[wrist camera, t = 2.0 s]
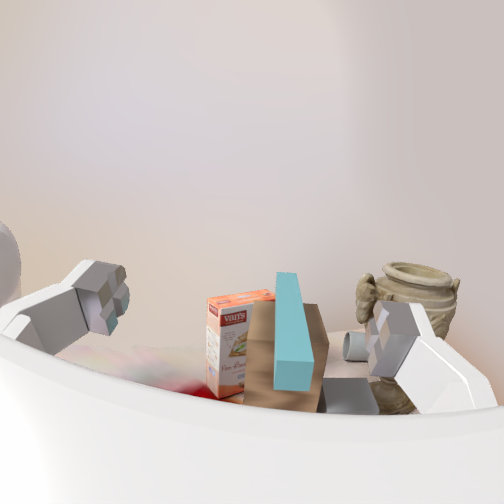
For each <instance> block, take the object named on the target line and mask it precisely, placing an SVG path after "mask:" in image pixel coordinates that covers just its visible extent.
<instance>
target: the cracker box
mask: <svg viewBox="0 0 504 504" xmlns="http://www.w3.org/2000/svg"><path fill="white" fill-rule="evenodd" d="M254 300H258V301H272V302H275V294H274V293H272V292H270V291H268V290H266V289H264V290H258V291H252V292H246V293H239V294H233V295H227V296H219V297H213V298H208V299H207V387H208V388H209V389H210V390H211V391H212V392H213V393H214V395H215V396H216V397H217V398H218V399H220V398H223V397H227V396H230V395H233V394H236V393H239V392H243V391H244V384H245V366H246V348H247V336H248V331H249V326H250V320H251V315H252V310H253V305H254Z"/></svg>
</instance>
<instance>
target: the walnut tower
mask: <svg viewBox="0 0 504 504" xmlns="http://www.w3.org/2000/svg"><path fill="white" fill-rule="evenodd" d="M303 307H304V312H305V317H306V322H307V327H308V332H309V337H310V342H311V347H312V352H313V358H314V367H313V373H312V378H311V384H310V389H309V391H289V390H274V353H275V302H272V301H258V300H254V305H253V310H252V315H251V320H250V326H249V331H248V336H247V348H246V366H245V384H244V403H243V405H248V406H255V407H262V408H270V409H279V410H289V411H299V412H311V413H316V410H317V405H318V400H319V396H320V391H321V386H322V381H323V376H324V371H325V365H326V360H327V354H328V349H329V341H328V337H327V334H326V331H325V328H324V325H323V322H322V318H321V315H320V312H319V309H318V306H317V304H304V303H303Z"/></svg>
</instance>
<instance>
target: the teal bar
mask: <svg viewBox="0 0 504 504" xmlns="http://www.w3.org/2000/svg"><path fill="white" fill-rule="evenodd" d="M313 367H314V358H313V352H312V347H311V342H310V337H309V332H308V327H307V322H306V317H305V312H304V307H303V303H302V298H301V293H300V288H299V284H298V279H297V275H296V273H283V272H277V279H276V294H275V353H274V390H289V391H309V389H310V384H311V378H312V373H313Z"/></svg>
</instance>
